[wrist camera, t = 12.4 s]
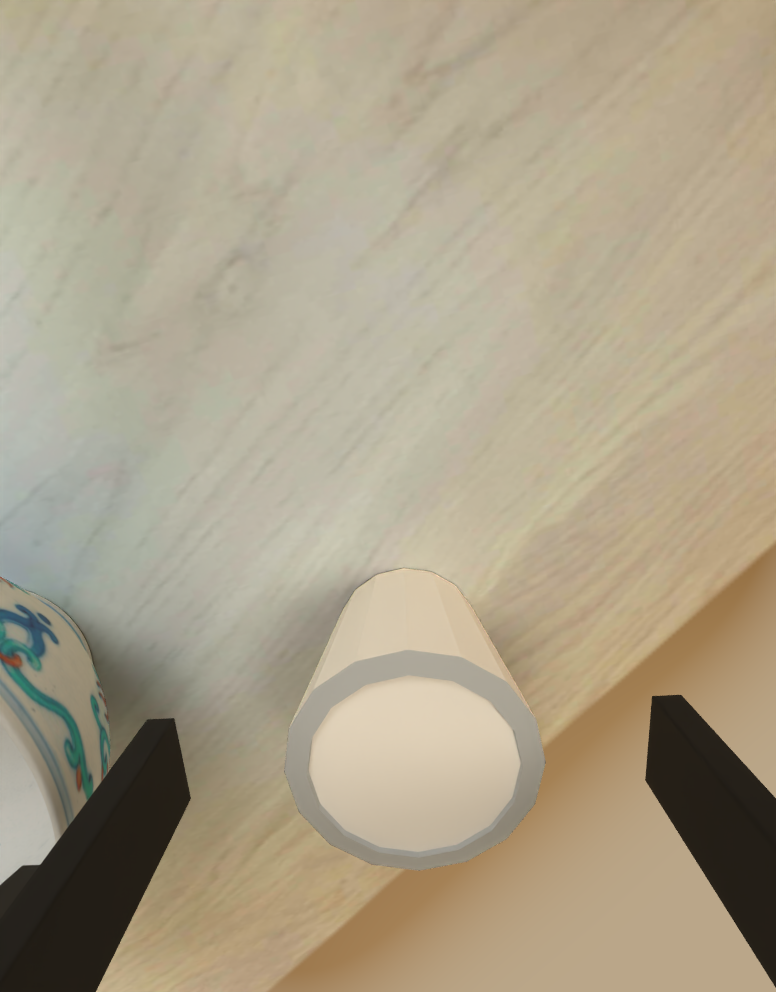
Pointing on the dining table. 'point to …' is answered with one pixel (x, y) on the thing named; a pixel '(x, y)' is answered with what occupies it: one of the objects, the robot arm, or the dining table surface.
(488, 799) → the shot glass
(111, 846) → the robot arm
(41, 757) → the chinaware
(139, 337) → the dining table surface
